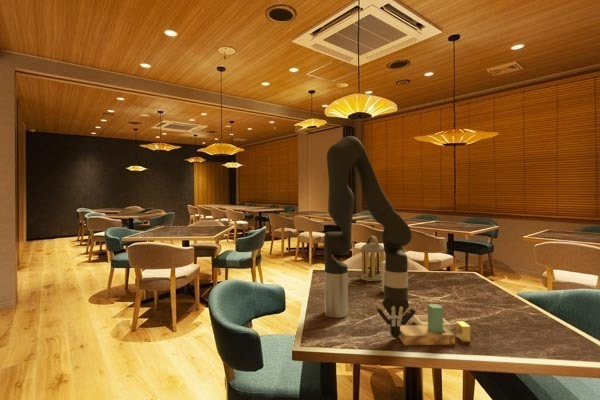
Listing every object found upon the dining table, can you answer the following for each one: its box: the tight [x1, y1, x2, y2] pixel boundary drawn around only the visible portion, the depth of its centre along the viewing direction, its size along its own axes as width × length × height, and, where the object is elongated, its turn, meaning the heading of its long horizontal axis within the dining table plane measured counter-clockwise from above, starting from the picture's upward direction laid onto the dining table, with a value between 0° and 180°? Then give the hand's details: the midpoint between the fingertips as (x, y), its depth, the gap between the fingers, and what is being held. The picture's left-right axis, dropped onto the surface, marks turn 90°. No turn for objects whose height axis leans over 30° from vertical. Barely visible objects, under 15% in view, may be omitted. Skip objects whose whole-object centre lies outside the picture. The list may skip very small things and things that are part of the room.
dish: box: [412, 314, 452, 332], centre depth 117 cm, size 10×9×2 cm
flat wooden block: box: [398, 324, 456, 346], centre depth 106 cm, size 16×8×3 cm, turn 90°
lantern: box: [359, 235, 385, 280], centre depth 186 cm, size 14×14×25 cm
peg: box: [427, 303, 444, 333], centre depth 106 cm, size 4×4×11 cm
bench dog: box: [455, 321, 471, 343], centre depth 106 cm, size 2×4×5 cm, turn 0°
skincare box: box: [381, 260, 385, 293], centre depth 162 cm, size 8×6×15 cm
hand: (395, 336), depth 106 cm, fingers closed
